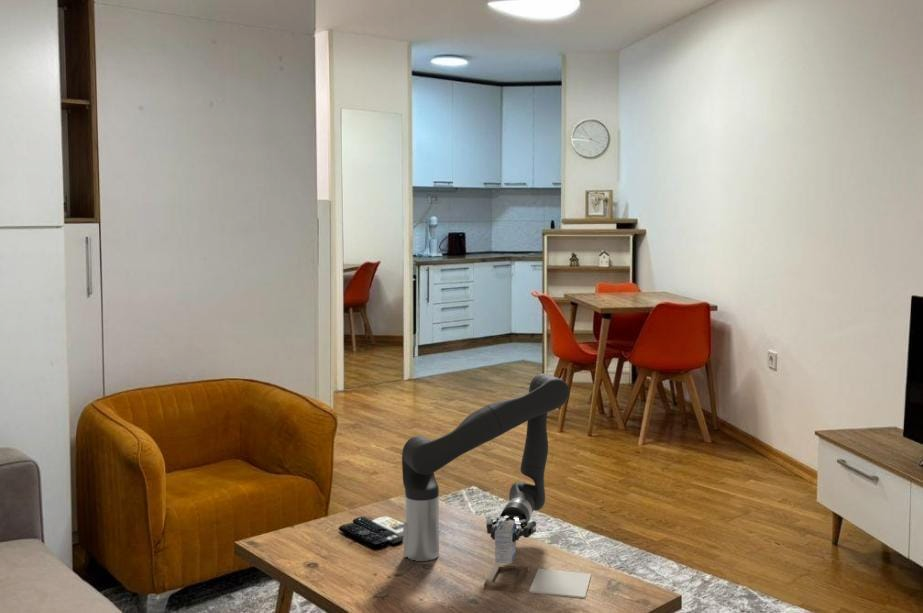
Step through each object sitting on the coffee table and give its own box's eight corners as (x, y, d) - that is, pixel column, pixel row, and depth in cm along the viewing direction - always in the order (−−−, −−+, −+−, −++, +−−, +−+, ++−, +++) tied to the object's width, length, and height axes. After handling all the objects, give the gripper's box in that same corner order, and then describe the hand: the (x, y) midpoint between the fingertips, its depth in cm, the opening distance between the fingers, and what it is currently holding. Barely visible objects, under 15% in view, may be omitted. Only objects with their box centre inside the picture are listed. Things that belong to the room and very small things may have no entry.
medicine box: (511, 564, 221) (512, 531, 220) (494, 563, 222) (494, 530, 221) (516, 552, 229) (516, 521, 228) (499, 551, 229) (499, 519, 229)
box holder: (484, 588, 221) (484, 583, 221) (495, 568, 233) (495, 563, 233) (519, 592, 219) (519, 587, 218) (528, 571, 231) (528, 567, 231)
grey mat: (529, 592, 218) (529, 590, 218) (538, 570, 232) (538, 568, 232) (584, 598, 215) (585, 596, 215) (591, 575, 228) (591, 574, 228)
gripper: (491, 499, 240) (476, 520, 223) (542, 504, 236) (531, 526, 220) (490, 525, 240) (476, 548, 224) (541, 530, 237) (531, 554, 220)
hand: (503, 537), depth 222 cm, fingers closed on medicine box, 4 cm apart
